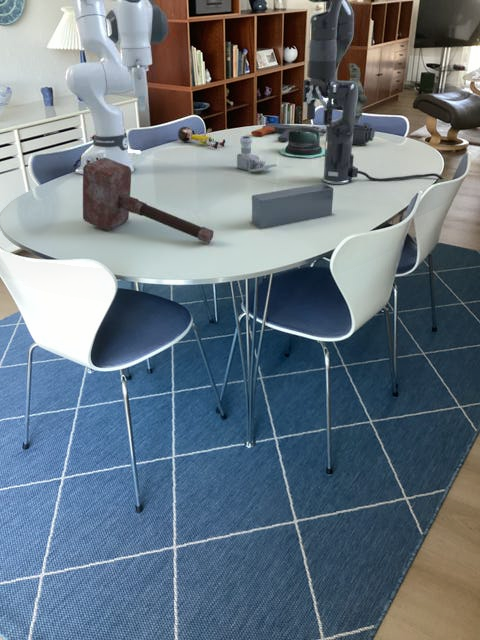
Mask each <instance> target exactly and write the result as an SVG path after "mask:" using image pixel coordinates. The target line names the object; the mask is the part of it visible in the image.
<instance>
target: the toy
mask: <svg viewBox="0 0 480 640" xmlns="http://www.w3.org/2000/svg"><path fill="white" fill-rule="evenodd" d="M357 124H358V123H357ZM357 124H355V125H354V129H353V140H352V145H358V146H359V145H360V146H366V144H367V143H369V142H373V140H374V138H375V133H376V129H375V127H374V126H372V123H370V122H363V124H358V125H357Z"/></svg>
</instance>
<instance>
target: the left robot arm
mask: <svg viewBox="0 0 480 640" xmlns="http://www.w3.org/2000/svg"><path fill="white" fill-rule="evenodd" d="M110 1H112V2H116V3H115V4H116V6H115V7H114V9H110V10H109V11H108V13H107V11H106V8H105V4H104V0H73V12H74V13H73V14H74V20H75V24H76V31H77V34H78V39H79V44H80V45H81V47H82V48H83V50H85V51H86V52H88V53H90V54H92V55H94V56H96V58H98V59H99V61H86V62H79V63H76V64H73V65H69V67H68V68H67V70H66V73H65V83H66V85H67V87H68V89H69V90H70V92H71V93H72V94H74V96H76V97H78V98H79V99H80V100H81V101H83V103H84V104H85V105H86V106H87V108H88V109H89V111H90V112H89V113H90V114H91V118H92V122H93V126H94V133H95V134H93V135H92V136H90V137H89V141H92V145H91V146H90V147H88V148H87V149H86V150H85V151H84V152H83V153H82V154H81V155H80V156H79V159H77V160H76V161H75V163H73V167H77V166H78V164H79V163H80V166H79V167H77V168H76V169H75V174H79V175H83V167H84V166H85V165H86V164H89V163H92V162H94V161H97V160H100V159H102V158H108V159H111V160H113V161H116V162H118V163H121V164H123V165H126V166H129V167H130V169H131V173H133V172H134V171H135V168H134V165H133V164H132V160H131V156H130V153H132V154H141V150H139V149H138V150H137V149H129V142H128V135H127V132H126V126H125V119H124V118H125V117H124V112H123V111H122V110H121V108H120V107H118V106H116V105H114V104H112V103H109V102H107V101H106V100H105V96H106V95H107V96H108V95H119V94H125V93H129V92H132V91H133V92H134V96H135V97H136V99H137V104H138V107H139V108H138V110H139V112H146V97H147V96H148V85H147V84H148V83H147V75H146V72H149V71H150V69H149V66H151V65H153V57H152V55H153V54H152V45H160V44H162V42H163V41H164V40H165V39H166V37H167V36H168V34H169V21H168V18H167V16H166V13H165V12H164V11H163V9H162V8H160V7H159V6H158V5H156V4H155V2H154V1H153V0H110ZM115 44H116V45H119V46H120V47H119V49H120V51H119V50H118V48H117V46H116V45H115Z"/></svg>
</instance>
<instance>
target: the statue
mask: <svg viewBox="0 0 480 640" xmlns="http://www.w3.org/2000/svg"><path fill="white" fill-rule="evenodd" d="M348 70H349V73H350V75H349V76H350V78H349V80H348V81H352V82H355V83H356V84H357V86H358V100H357V107H356V115H355V123H354V125H355V124H357V125H359V124H358V123H359V121H360V118H361V117H362V116H363V108H364V104H365V103H367V102H368V96H367V95H366V94H365V91H364V86H363V84H362V82H361V68H360V67H359V66H358V65H357V64H356V63H351V62H350V63H348Z"/></svg>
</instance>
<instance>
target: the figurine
mask: <svg viewBox="0 0 480 640" xmlns="http://www.w3.org/2000/svg"><path fill="white" fill-rule="evenodd" d="M210 132H212V128H209V129H207V130H206V132H205V133H204V134H202V135H201V134H198V133H195V130H193V129H191V128H189V127H188V126H182V127H180V128H179V129H178V132H177V137H178V139H179V141H182V142H191V141H192V140H194V141H198V142H200V143H201V144H203V145H204V146H210V147H212V148H214V149H215V150H216V149H218V145H219V146H221V147H225V144H226V139H222V141H218V140H216V139H215V138H213V137H212V136H207V135H208V134H209V133H210Z"/></svg>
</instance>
